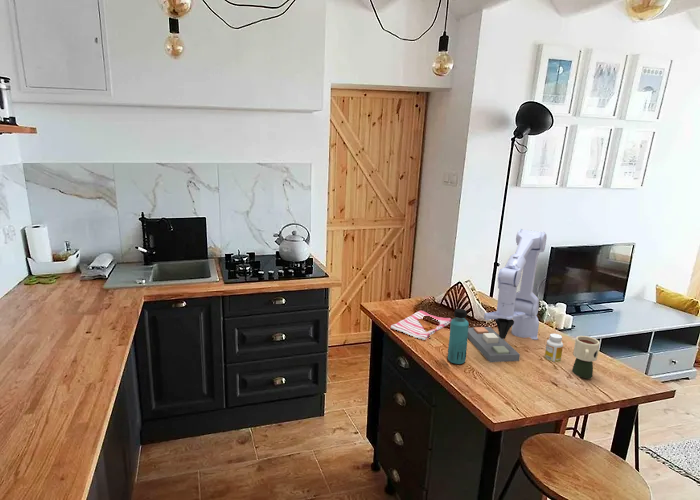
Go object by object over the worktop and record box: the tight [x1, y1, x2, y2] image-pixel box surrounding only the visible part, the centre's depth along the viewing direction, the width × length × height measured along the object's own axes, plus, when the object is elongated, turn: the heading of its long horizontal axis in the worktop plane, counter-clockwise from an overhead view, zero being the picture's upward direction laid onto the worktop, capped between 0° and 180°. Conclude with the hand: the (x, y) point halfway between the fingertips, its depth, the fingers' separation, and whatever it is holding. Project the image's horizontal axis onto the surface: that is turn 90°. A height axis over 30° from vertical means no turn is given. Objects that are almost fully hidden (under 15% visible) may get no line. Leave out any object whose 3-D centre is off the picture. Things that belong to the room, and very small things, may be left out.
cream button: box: [483, 333, 499, 343], centre depth 168 cm, size 4×4×3 cm
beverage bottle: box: [446, 308, 470, 365], centre depth 155 cm, size 6×7×20 cm
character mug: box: [571, 335, 601, 379], centre depth 150 cm, size 11×7×13 cm, turn 154°
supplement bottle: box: [544, 333, 564, 363], centre depth 160 cm, size 5×5×10 cm
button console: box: [467, 326, 521, 363], centre depth 169 cm, size 11×24×4 cm, turn 8°
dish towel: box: [390, 309, 453, 341], centre depth 188 cm, size 17×23×4 cm
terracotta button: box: [473, 326, 488, 334], centre depth 177 cm, size 4×4×3 cm
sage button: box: [493, 346, 509, 354], centre depth 161 cm, size 4×4×3 cm
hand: (502, 337), depth 159 cm, fingers closed
